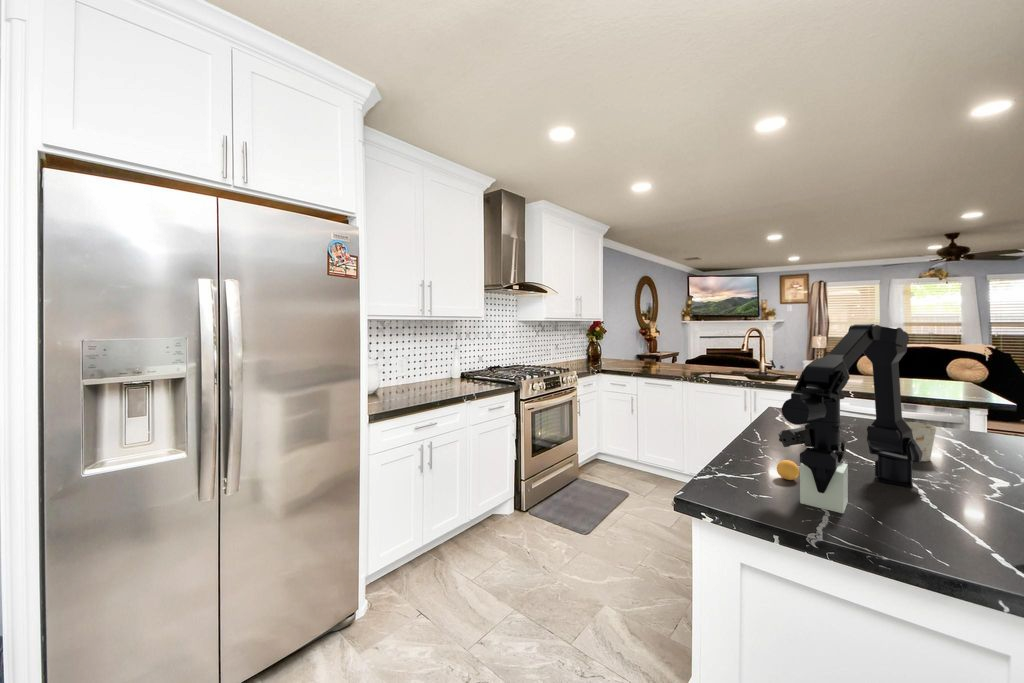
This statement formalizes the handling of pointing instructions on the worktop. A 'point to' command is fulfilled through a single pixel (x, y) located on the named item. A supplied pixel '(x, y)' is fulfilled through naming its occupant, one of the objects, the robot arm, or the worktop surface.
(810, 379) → the robot arm
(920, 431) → the mug
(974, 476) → the worktop surface
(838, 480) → the pale green block
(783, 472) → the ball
